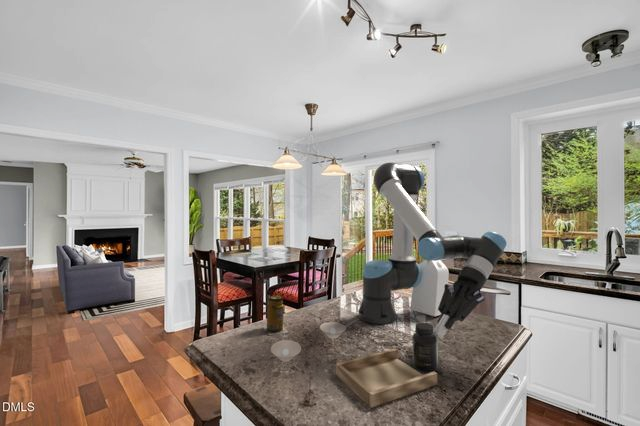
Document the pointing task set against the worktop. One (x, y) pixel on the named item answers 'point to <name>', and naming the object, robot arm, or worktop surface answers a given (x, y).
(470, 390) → the worktop surface
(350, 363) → the tray
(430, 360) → the supplement bottle
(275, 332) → the condiment
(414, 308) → the milk
